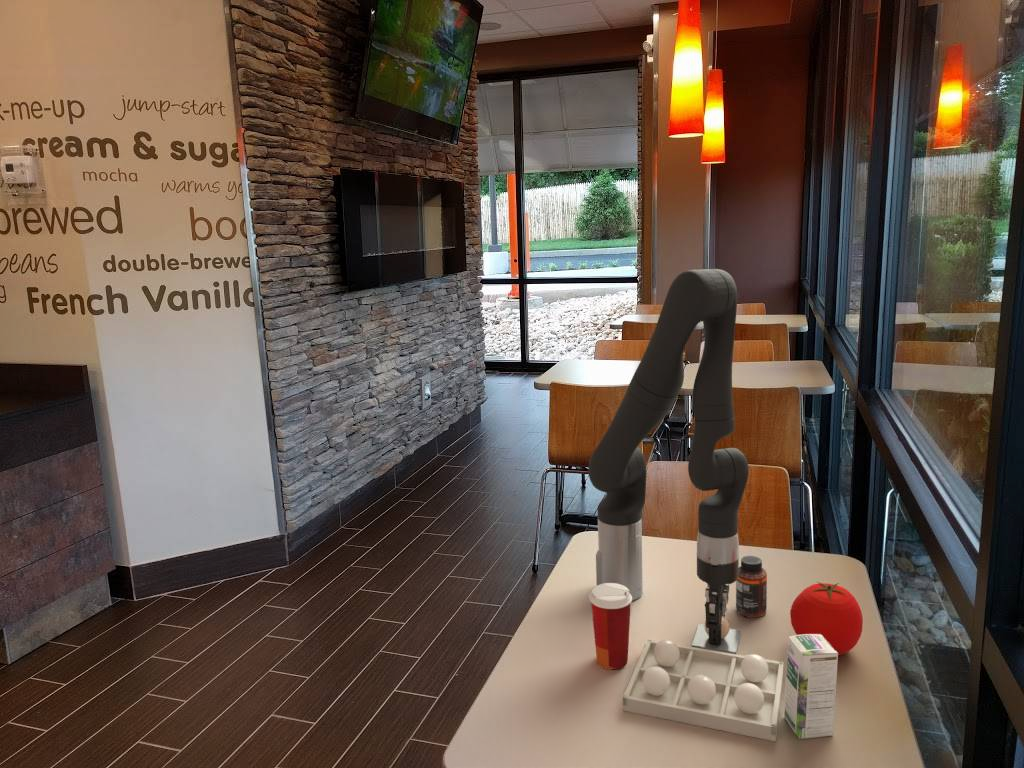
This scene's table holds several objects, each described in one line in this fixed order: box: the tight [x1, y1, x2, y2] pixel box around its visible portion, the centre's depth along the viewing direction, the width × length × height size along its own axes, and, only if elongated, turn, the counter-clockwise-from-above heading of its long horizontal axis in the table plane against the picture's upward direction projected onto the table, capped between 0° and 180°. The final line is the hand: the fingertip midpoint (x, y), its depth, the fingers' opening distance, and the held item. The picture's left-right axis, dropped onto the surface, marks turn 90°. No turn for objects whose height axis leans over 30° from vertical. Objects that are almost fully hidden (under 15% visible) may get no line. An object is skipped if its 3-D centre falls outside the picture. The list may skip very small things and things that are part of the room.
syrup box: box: [783, 634, 839, 740], centre depth 120 cm, size 6×6×14 cm
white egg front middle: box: [687, 675, 716, 705], centre depth 127 cm, size 5×5×5 cm
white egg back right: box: [740, 653, 769, 683], centre depth 132 cm, size 5×5×5 cm
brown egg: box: [703, 616, 730, 639], centre depth 146 cm, size 5×5×5 cm
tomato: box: [789, 581, 864, 656], centre depth 141 cm, size 12×12×13 cm
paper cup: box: [588, 583, 633, 670], centre depth 140 cm, size 8×8×14 cm
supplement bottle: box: [735, 555, 768, 618], centre depth 155 cm, size 6×6×11 cm
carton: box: [622, 639, 785, 742], centre depth 131 cm, size 24×18×6 cm
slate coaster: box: [691, 623, 742, 654], centre depth 147 cm, size 8×8×1 cm
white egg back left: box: [654, 639, 680, 667], centre depth 137 cm, size 5×5×5 cm
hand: (716, 636), depth 147 cm, fingers closed on brown egg, 4 cm apart
